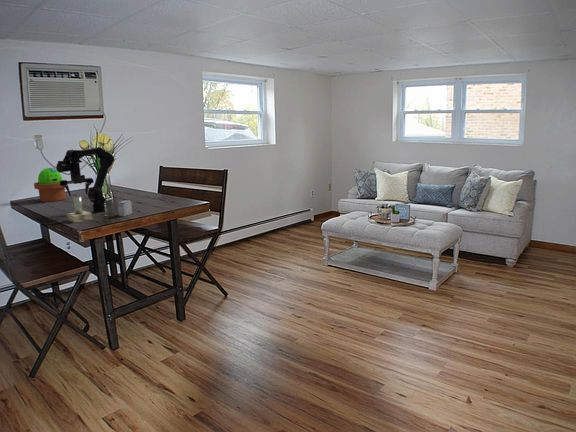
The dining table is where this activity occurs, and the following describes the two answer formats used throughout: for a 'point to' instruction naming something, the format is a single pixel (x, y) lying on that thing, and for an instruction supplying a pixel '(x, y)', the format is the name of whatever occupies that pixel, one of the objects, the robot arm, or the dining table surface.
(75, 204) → the tea tin
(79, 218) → the beige shallow bowl
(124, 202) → the medicine box
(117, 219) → the dining table surface
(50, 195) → the potted cactus
